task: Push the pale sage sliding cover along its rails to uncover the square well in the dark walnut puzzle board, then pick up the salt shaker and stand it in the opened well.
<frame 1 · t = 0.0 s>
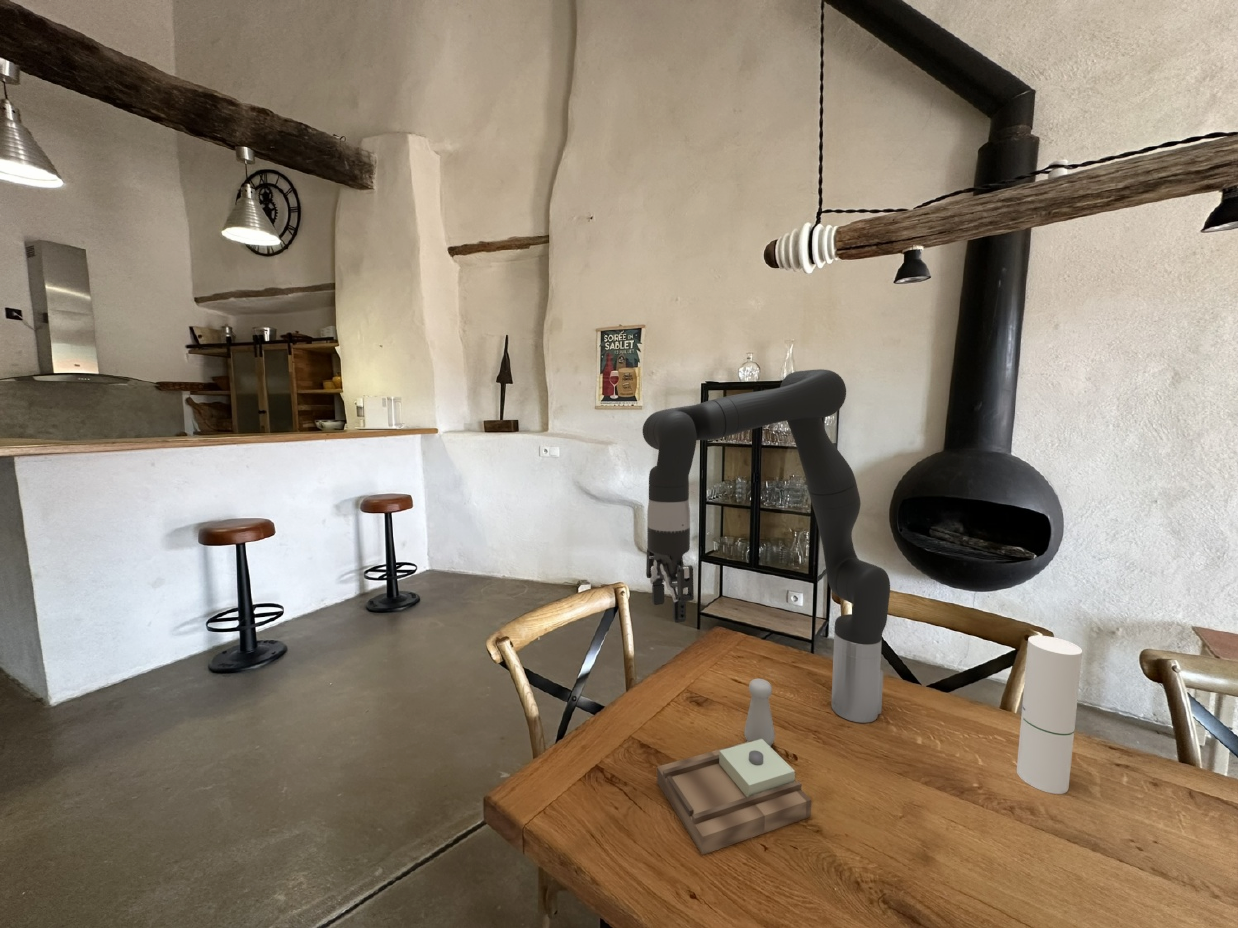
hand: (668, 612, 94), 29 cm above the table, fingers open, 8 cm apart
cylindrical container: (1041, 779, 92), on the table
board: (730, 798, 88), on the table
cover: (755, 764, 89), point 5 cm above the table, slide at 0.0 cm
salt shaker: (759, 745, 102), on the table
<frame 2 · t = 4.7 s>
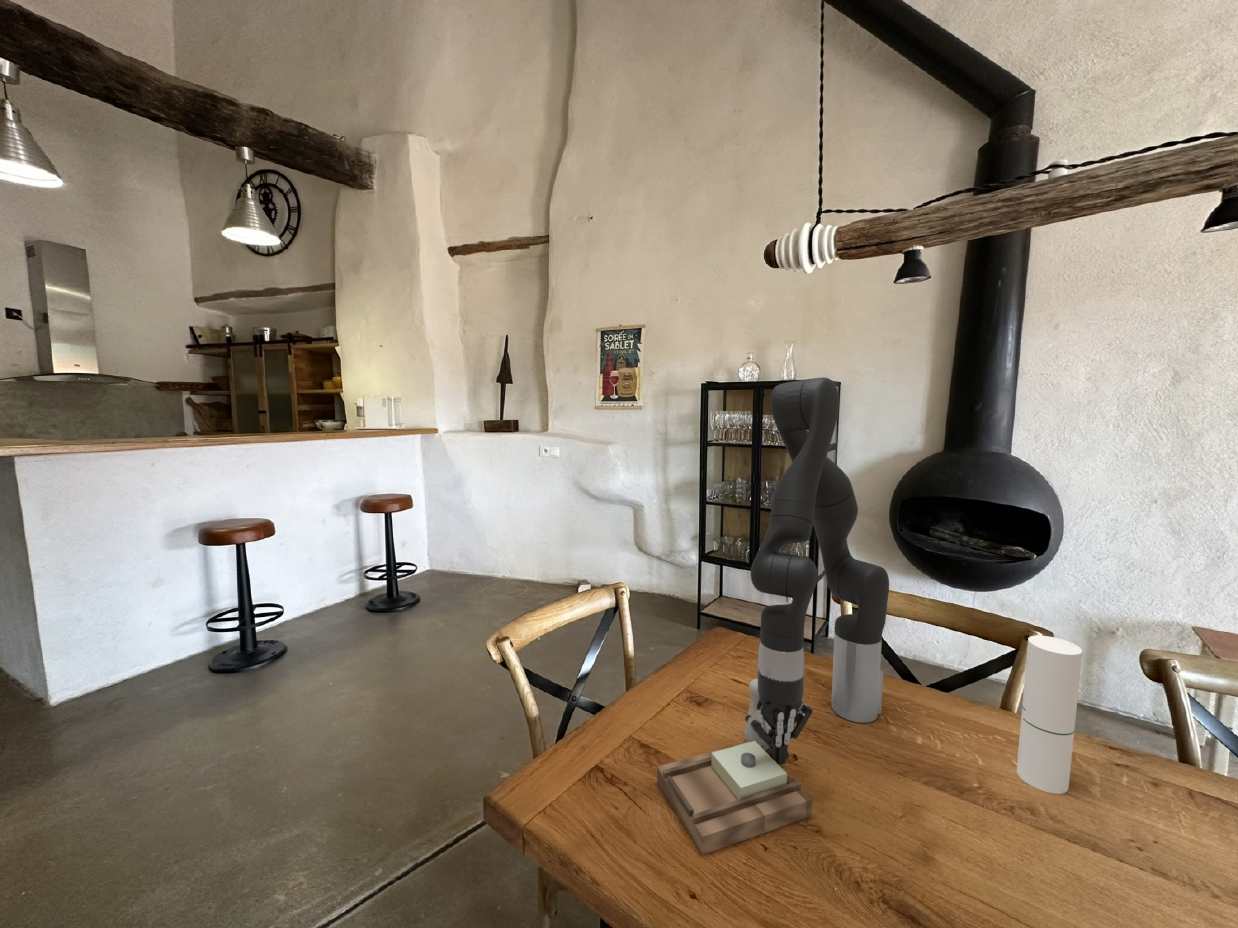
hand: (777, 761, 91), 4 cm above the table, fingers closed
cover: (748, 766, 89), point 5 cm above the table, slide at 1.6 cm, touching gripper
everything else where it was.
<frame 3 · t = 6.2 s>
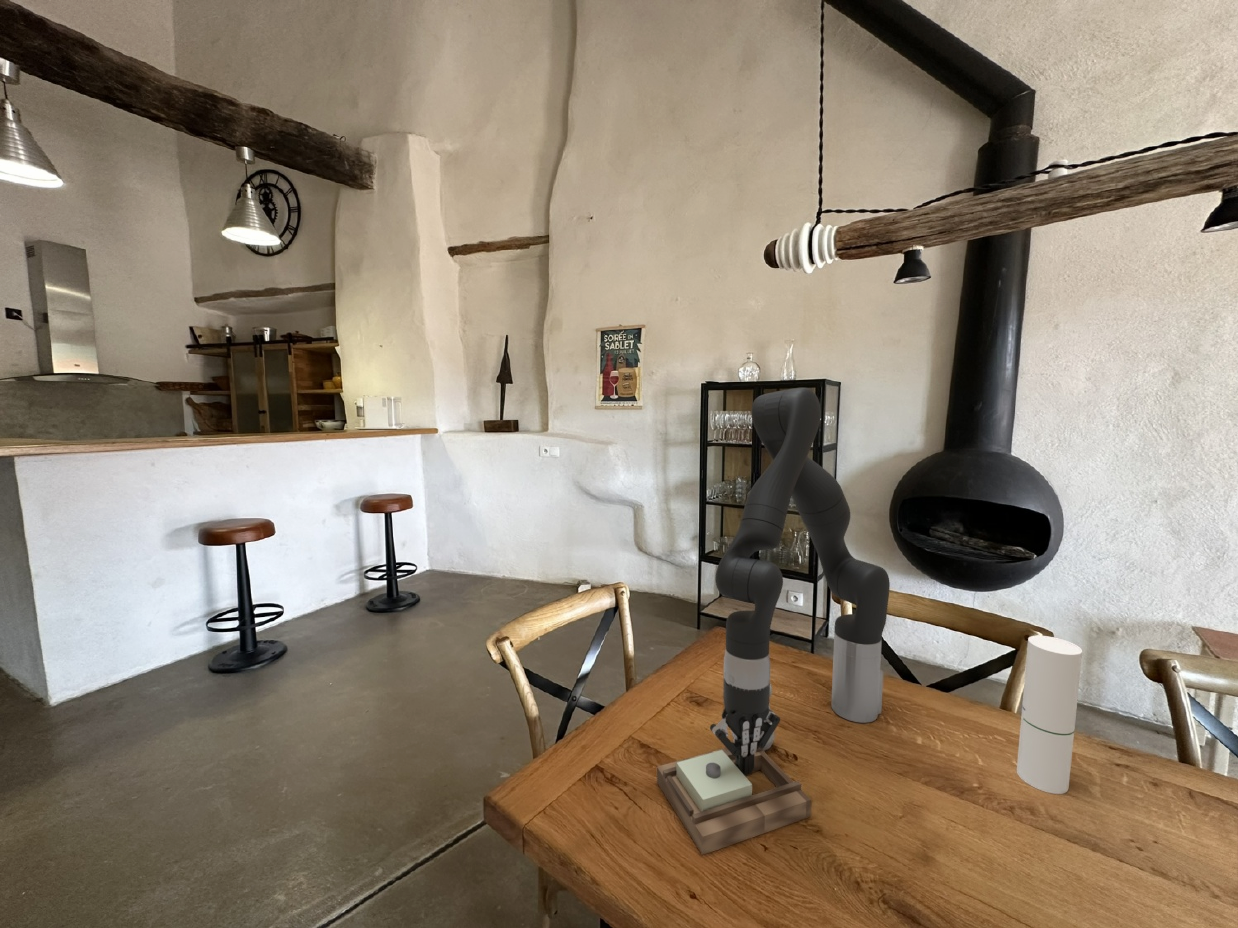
hand: (744, 771, 88), 4 cm above the table, fingers closed
cover: (713, 777, 86), point 5 cm above the table, slide at 8.4 cm, touching gripper
everything else where it was.
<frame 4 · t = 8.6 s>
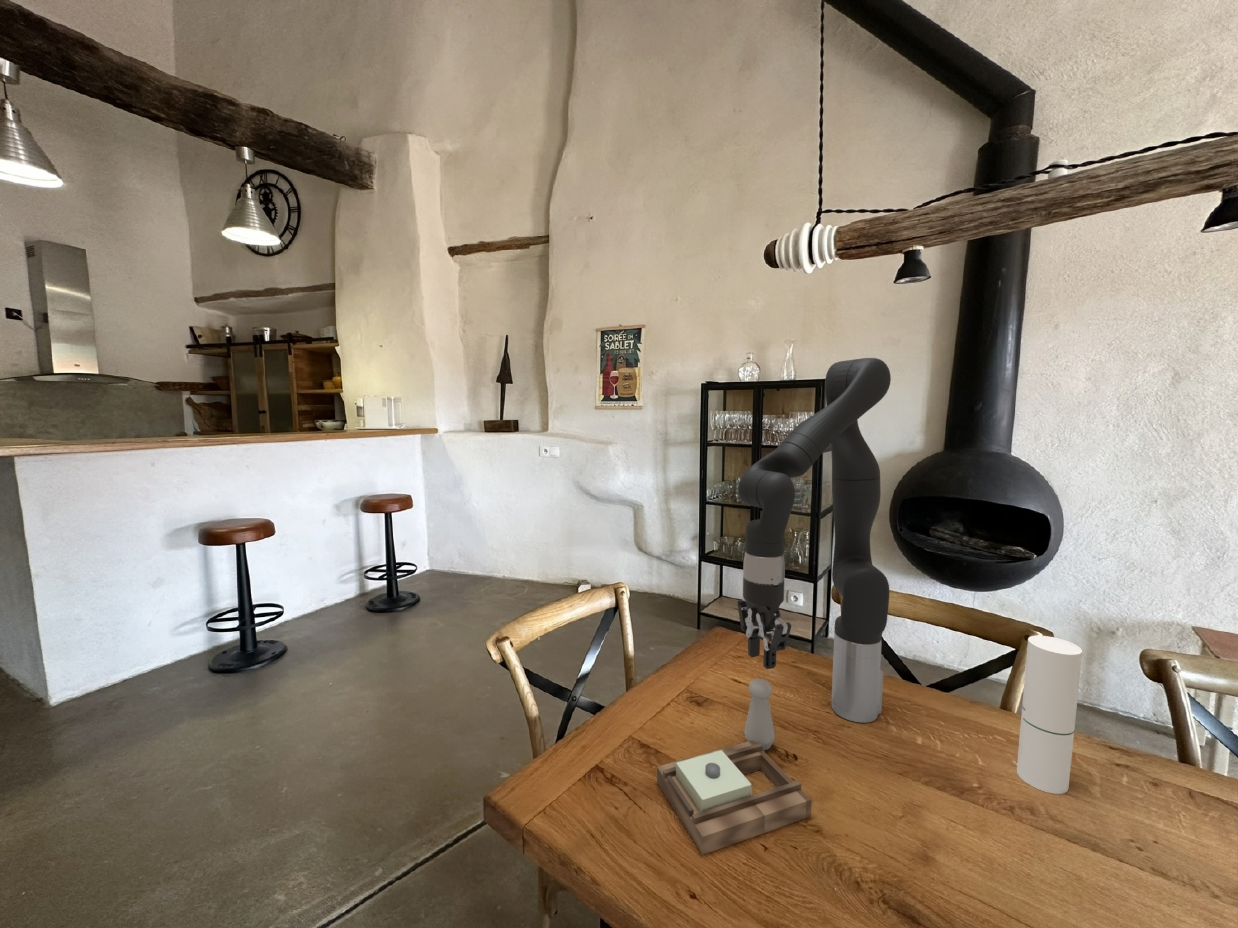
hand: (761, 661, 100), 17 cm above the table, fingers open, 4 cm apart
cover: (712, 777, 86), point 5 cm above the table, slide at 8.5 cm
everything else where it was.
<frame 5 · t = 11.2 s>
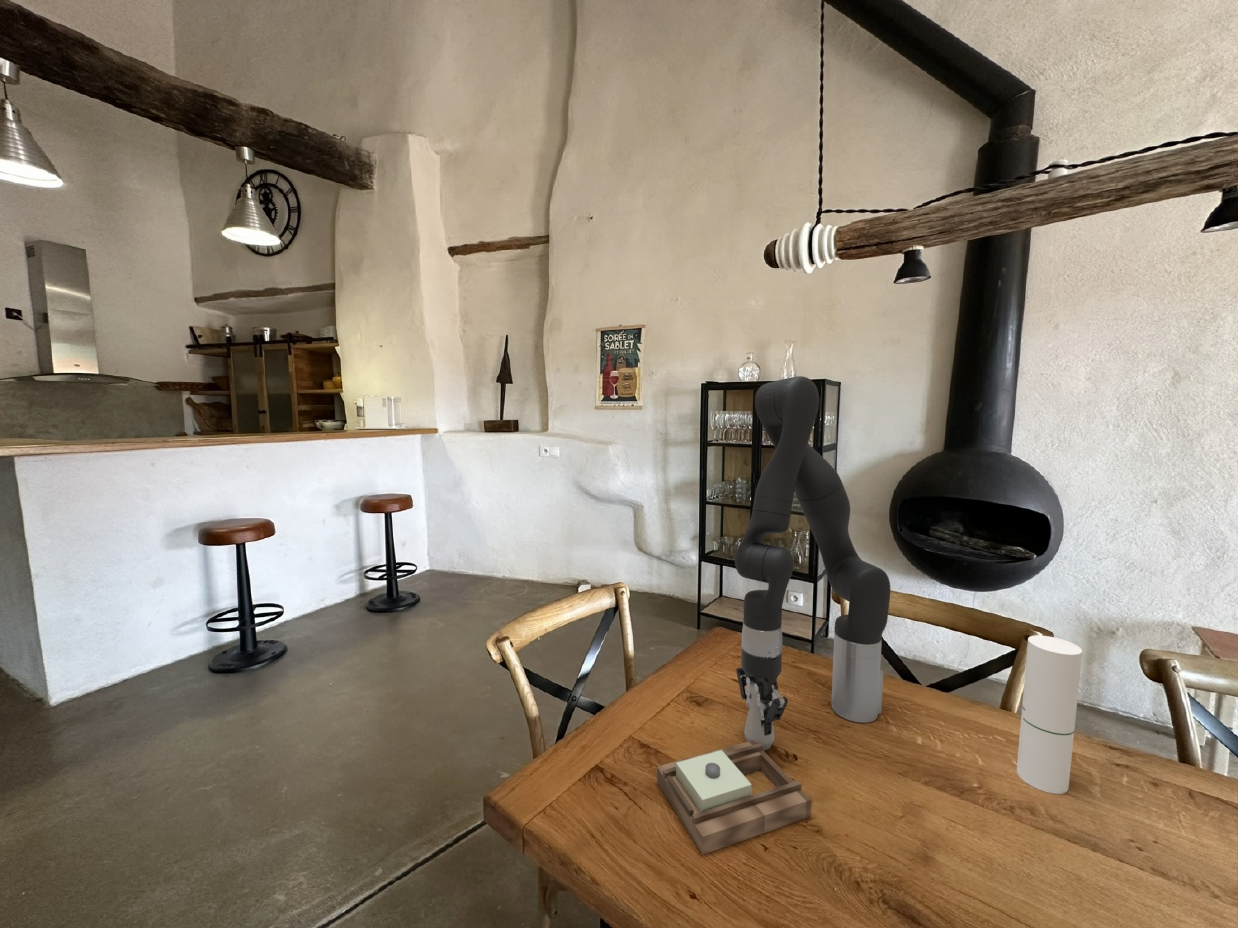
hand: (759, 729, 102), 3 cm above the table, fingers closed on salt shaker, 3 cm apart
salt shaker: (759, 745, 102), on the table, touching gripper
everything else where it was.
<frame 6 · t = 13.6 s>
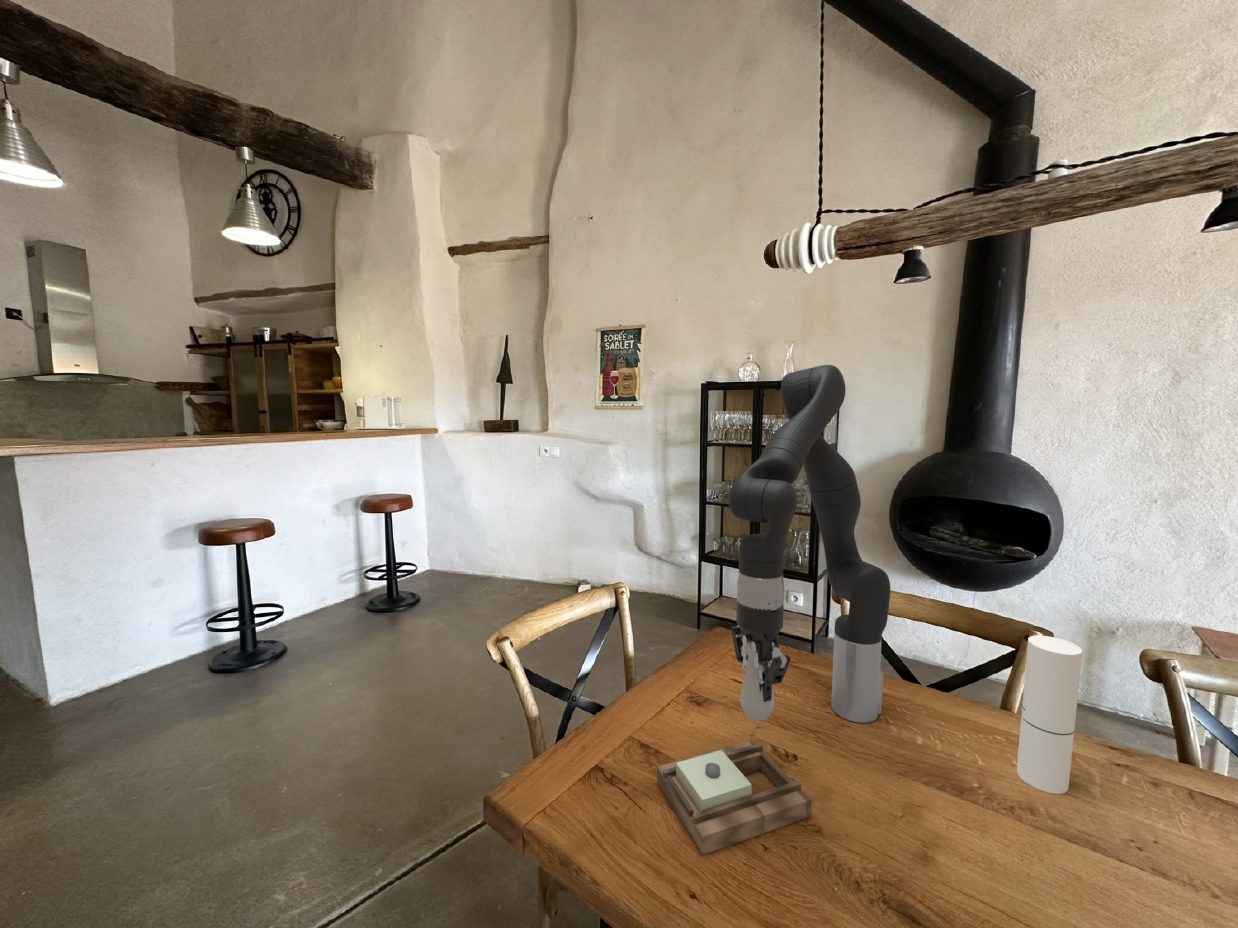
hand: (757, 695, 88), 17 cm above the table, fingers closed on salt shaker, 3 cm apart
salt shaker: (756, 714, 88), point 14 cm above the table, touching gripper
everything else where it was.
when the fingers open (5 cm above the table, at t = 16.1 s): salt shaker drops 1 cm, resting in board.
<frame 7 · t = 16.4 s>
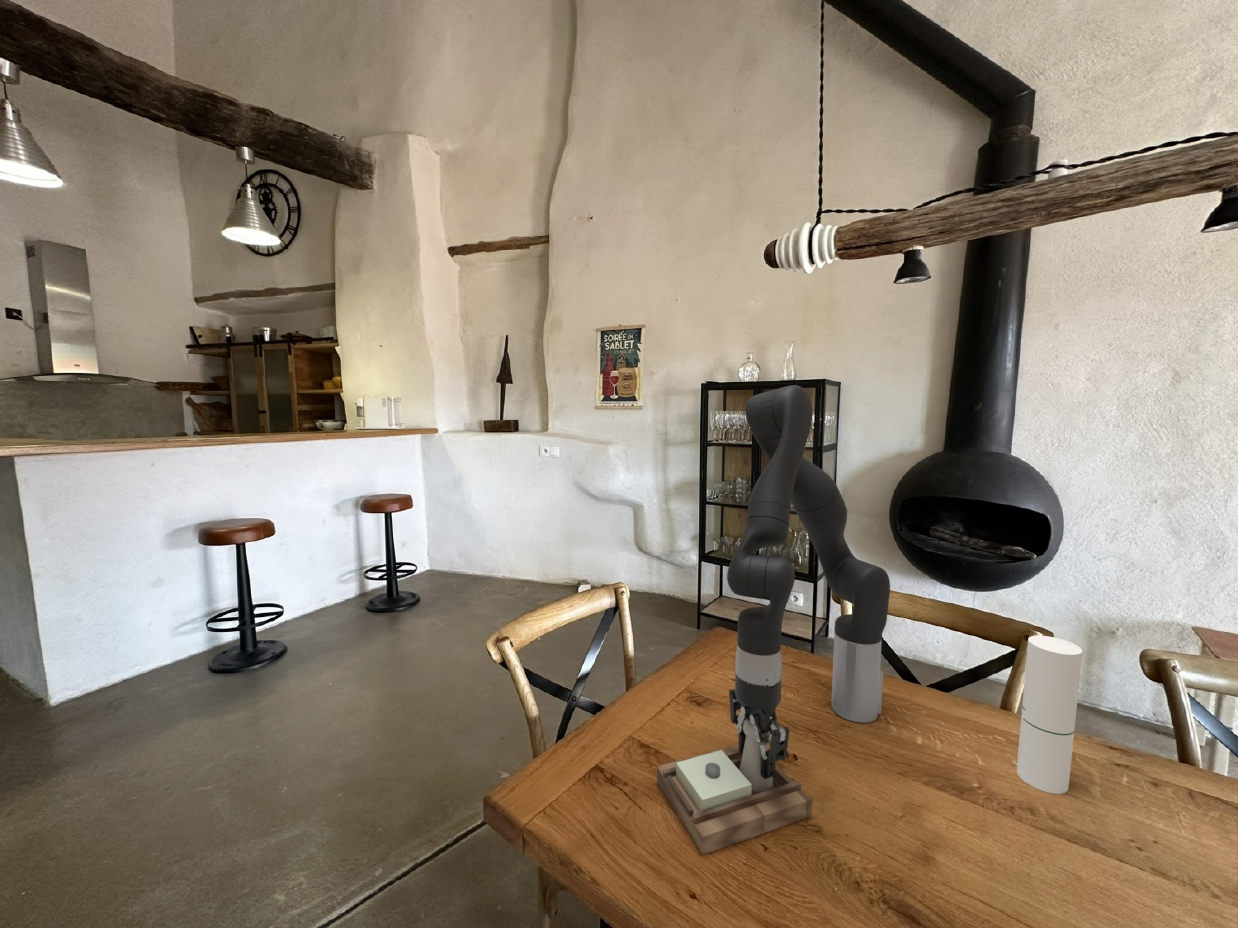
hand: (755, 763, 89), 5 cm above the table, fingers open, 6 cm apart
salt shaker: (755, 791, 90), resting in board
everything else where it was.
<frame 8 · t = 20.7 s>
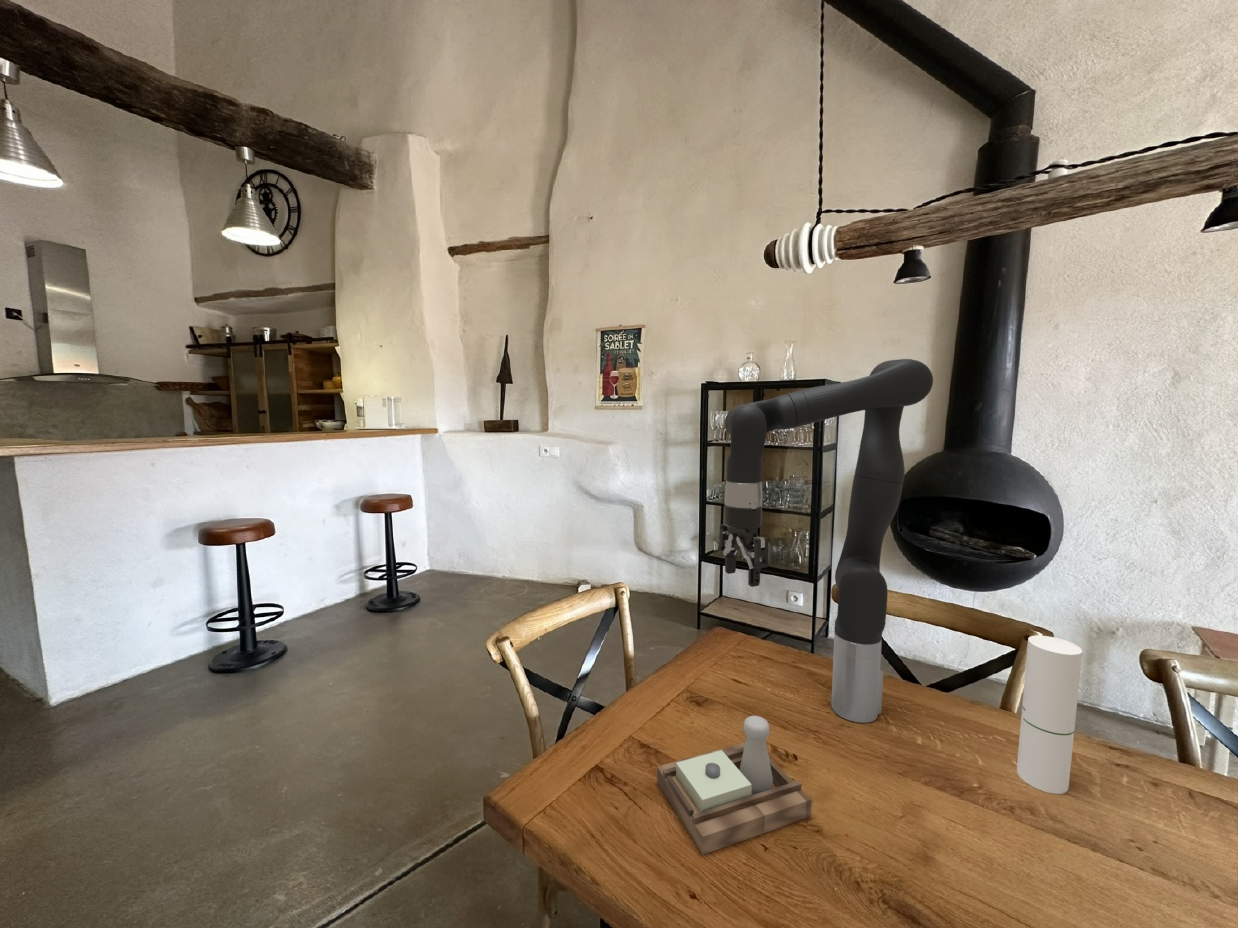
hand: (741, 579, 108), 30 cm above the table, fingers open, 8 cm apart
nothing on the table moved.
at the end: cover slide at 8.5 cm; salt shaker 0.0 cm from the target spot on the board, point 0.0 cm above the board's base; salt shaker tilted 0° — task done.
